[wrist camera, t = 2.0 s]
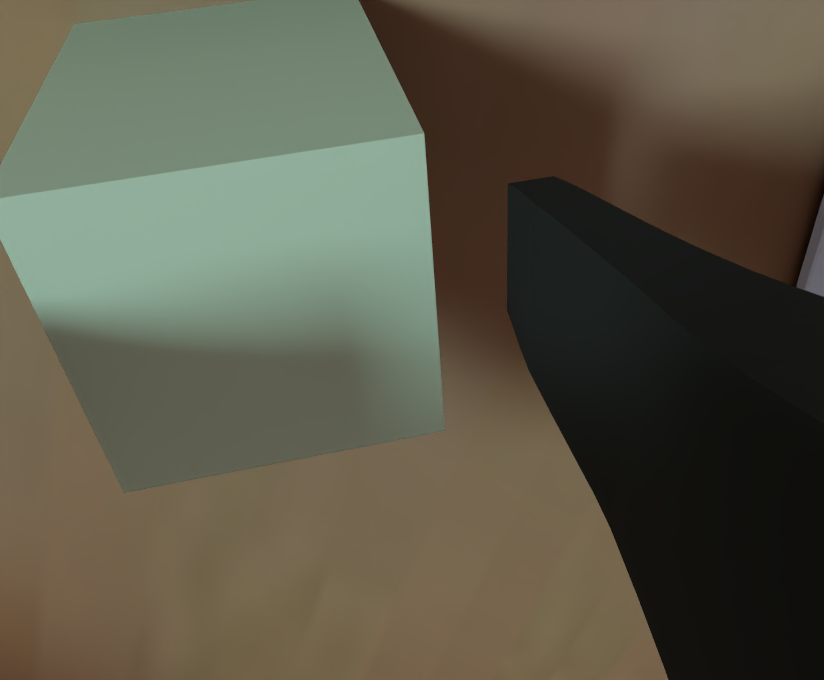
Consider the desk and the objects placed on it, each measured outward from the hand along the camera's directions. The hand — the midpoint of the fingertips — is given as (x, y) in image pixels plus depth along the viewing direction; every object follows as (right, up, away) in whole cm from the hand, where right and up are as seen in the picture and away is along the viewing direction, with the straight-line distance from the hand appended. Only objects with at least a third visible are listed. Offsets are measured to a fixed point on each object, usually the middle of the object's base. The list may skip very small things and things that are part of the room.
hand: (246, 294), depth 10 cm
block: (-1, +3, +4) cm, 5 cm away
